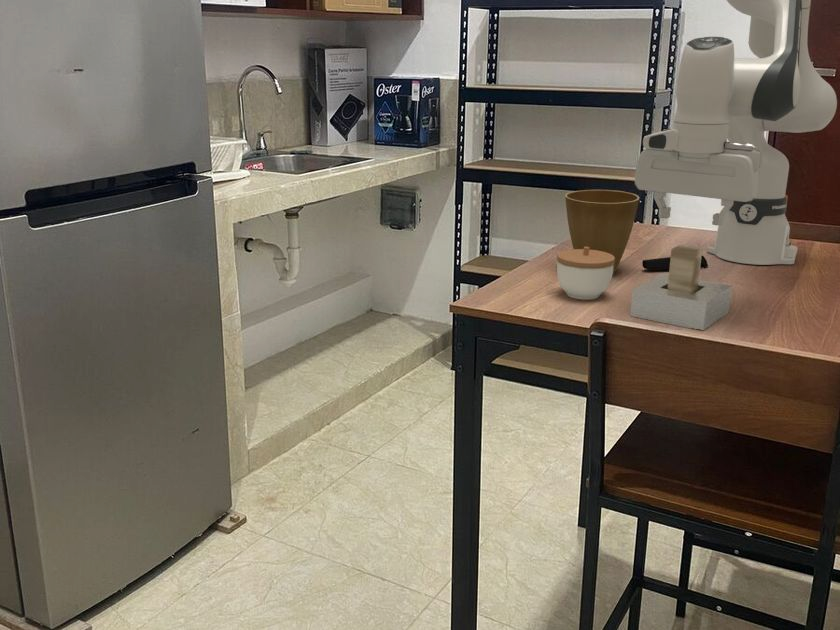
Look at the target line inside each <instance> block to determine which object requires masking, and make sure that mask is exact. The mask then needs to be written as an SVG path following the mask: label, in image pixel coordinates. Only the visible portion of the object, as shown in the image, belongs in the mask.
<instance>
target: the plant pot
mask: <svg viewBox="0 0 840 630" xmlns="http://www.w3.org/2000/svg"><path fill="white" fill-rule="evenodd" d="M564 196H565V197H564V198H565V208H566V209H565V210H566V216H567V223H568V231H569V235H570V240H571V244H572V249H584V247H589V250H597V251H603V252H606V253H609V254H611V255H613V256H614V257H615V263H614V268H613V274H614V273H615V272H616V271H617V268H618V266H619V264H620V262H621V260H622V258H623V255H624V252H625V251H626V249H627V245H628V242H629V241H630V240H629V239H630V236H631V234H632V229H633V226H634V223H635V218H636V216H637V211H638V206H639V201H640V196H639V195H637V194H635V193H632V192H628V191H627V192H626V191H622V190H611V189H584V190H583V189H582V190H576V191H570V192H567V193H566V194H565V195H564Z"/></svg>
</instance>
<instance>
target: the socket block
mask: <svg viewBox="0 0 840 630" xmlns="http://www.w3.org/2000/svg"><path fill="white" fill-rule="evenodd" d="M668 278H669V274H668V273H660V274H658V275H656V276H654V277H652V278H651V279H649V280H647V281H644V282H643V283H641V284H639V285H637V286H635V287H633V288H632V295H631V304H630V305H631V307H630V317H634V318H639V319H643V320H647V319H648V320H649V321H652V320H653V321H654V322H658V323H663V324H667V325H673V326H676V327H677V326H679V327H681V328H686V329H687V328H688V329H691V328H695V329H694V330H696V329H701V330H704V329H705V328H707V327H708V326H709V327H711V326H712V325H714V324H715V323H717V322H718V321H719V320H720V319H722V318H723V317H724V316H726V315H727V314H728V313H729V311H730V305H731V295H732V289H733V288H732V287H733V285H731V284H723V283H719V282H718V283H717V282H712V281H706V280H702V279H701V280H700V279H699V283H698V292H696V293H694V294H690V293H685V292H679V291H674V290H669V289H667V288H668ZM713 323H714V324H713ZM711 324H712V325H711ZM710 325H711V326H710ZM709 327H708V328H709ZM708 328H707V329H708ZM701 330H700V331H701ZM705 330H706V329H705ZM705 330H704V331H705Z"/></svg>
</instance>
